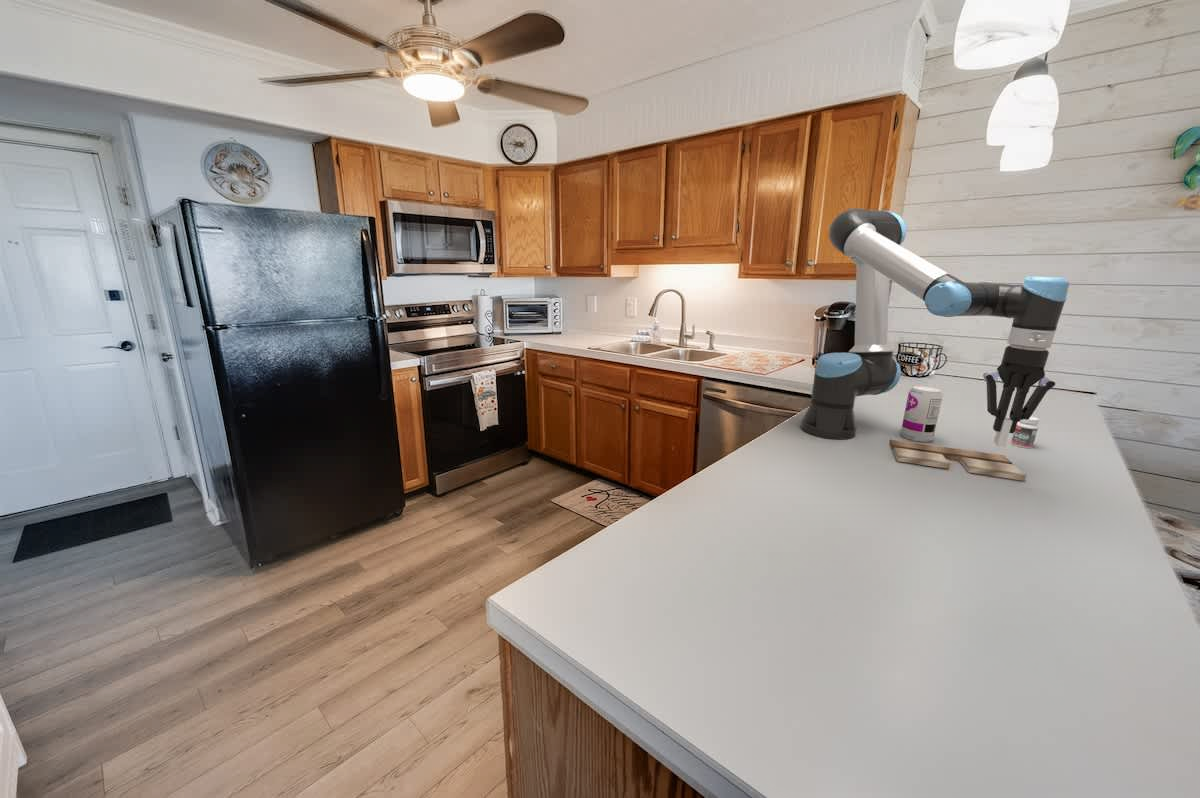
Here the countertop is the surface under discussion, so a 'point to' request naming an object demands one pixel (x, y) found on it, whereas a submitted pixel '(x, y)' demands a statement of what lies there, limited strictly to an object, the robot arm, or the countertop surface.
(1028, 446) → the pill bottle
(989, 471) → the plank
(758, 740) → the countertop surface
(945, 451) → the laid board
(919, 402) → the supplement can
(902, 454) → the plank
